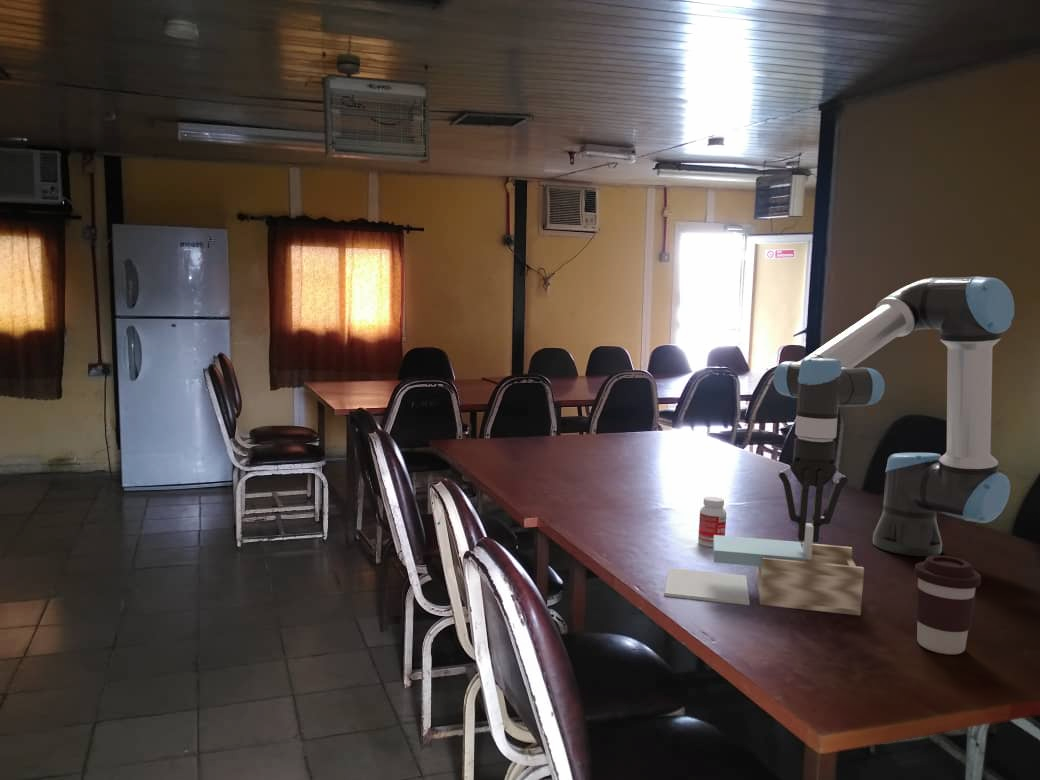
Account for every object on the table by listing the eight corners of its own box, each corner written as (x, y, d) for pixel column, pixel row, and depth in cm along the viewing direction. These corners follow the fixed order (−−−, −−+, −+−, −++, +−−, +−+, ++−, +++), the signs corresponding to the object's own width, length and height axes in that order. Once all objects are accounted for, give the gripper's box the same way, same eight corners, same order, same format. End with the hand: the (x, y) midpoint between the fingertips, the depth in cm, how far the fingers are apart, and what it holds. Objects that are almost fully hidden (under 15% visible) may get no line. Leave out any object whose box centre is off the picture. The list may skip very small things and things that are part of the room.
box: (848, 590, 167) (851, 547, 166) (860, 615, 153) (864, 568, 152) (756, 580, 171) (758, 538, 170) (760, 604, 157) (763, 558, 156)
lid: (799, 553, 167) (799, 541, 167) (805, 570, 156) (806, 558, 156) (713, 546, 170) (713, 534, 170) (713, 562, 160) (714, 550, 159)
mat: (745, 578, 172) (745, 575, 172) (749, 605, 156) (749, 602, 156) (668, 570, 176) (668, 567, 175) (664, 595, 160) (664, 593, 160)
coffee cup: (952, 635, 145) (960, 552, 144) (986, 659, 135) (995, 571, 134) (897, 634, 145) (904, 551, 143) (927, 658, 135) (935, 570, 133)
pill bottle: (720, 549, 192) (723, 503, 190) (694, 545, 195) (697, 499, 193) (727, 543, 197) (730, 498, 196) (702, 539, 200) (705, 494, 199)
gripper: (847, 437, 161) (838, 554, 163) (778, 433, 163) (770, 548, 166) (854, 443, 153) (844, 566, 156) (781, 438, 156) (773, 559, 159)
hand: (806, 557), depth 161 cm, fingers closed
